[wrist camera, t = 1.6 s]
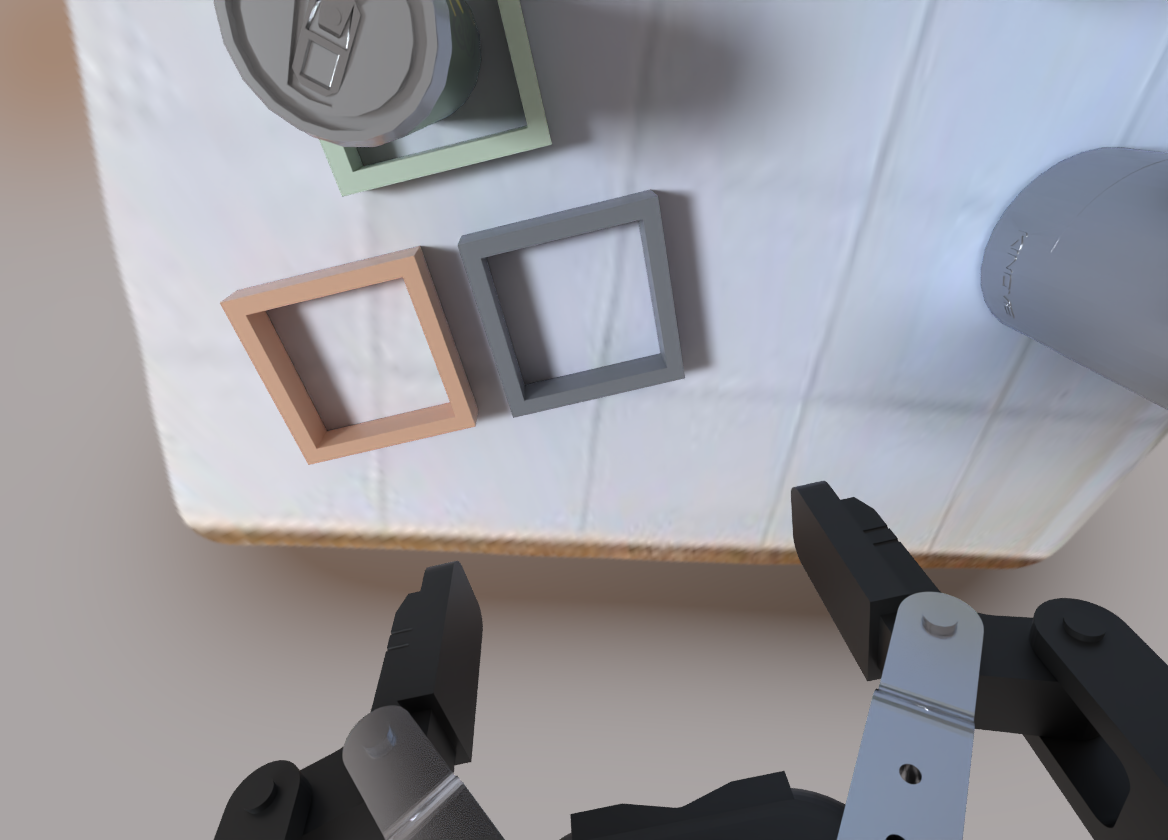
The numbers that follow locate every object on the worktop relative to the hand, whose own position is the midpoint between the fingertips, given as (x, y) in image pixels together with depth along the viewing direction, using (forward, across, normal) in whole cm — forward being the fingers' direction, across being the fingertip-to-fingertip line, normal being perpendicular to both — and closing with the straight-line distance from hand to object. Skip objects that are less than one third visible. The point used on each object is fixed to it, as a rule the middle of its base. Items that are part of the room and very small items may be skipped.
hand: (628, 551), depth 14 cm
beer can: (+18, +4, -12) cm, 22 cm away
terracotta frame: (+18, +11, 0) cm, 21 cm away
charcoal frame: (+18, 0, 0) cm, 18 cm away
